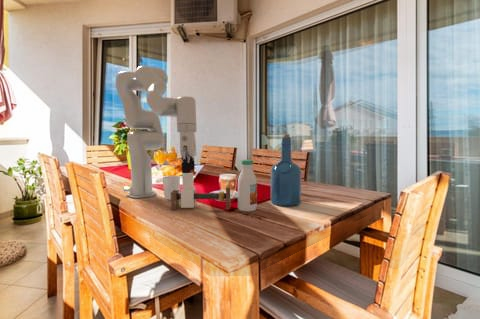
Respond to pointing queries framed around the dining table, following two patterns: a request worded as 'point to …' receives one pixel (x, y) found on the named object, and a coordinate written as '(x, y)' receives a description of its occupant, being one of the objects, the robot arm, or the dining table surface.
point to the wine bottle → (286, 178)
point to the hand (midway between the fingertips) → (188, 171)
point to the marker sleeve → (187, 191)
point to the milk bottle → (247, 187)
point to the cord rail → (201, 197)
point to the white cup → (170, 185)
